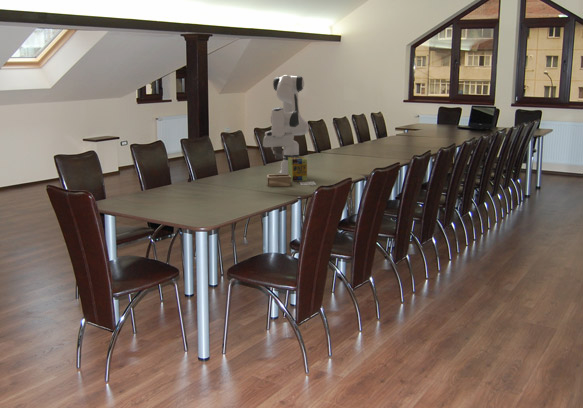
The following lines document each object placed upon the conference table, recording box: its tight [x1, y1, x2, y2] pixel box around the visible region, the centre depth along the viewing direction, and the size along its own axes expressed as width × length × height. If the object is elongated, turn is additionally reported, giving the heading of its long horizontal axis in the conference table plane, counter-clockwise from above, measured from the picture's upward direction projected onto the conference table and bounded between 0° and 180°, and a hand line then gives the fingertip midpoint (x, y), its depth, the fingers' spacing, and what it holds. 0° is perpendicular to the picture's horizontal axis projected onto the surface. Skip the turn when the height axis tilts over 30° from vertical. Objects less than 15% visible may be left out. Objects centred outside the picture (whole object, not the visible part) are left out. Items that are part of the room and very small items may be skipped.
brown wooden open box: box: [266, 173, 292, 187], centre depth 428 cm, size 12×15×6 cm
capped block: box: [274, 147, 283, 161], centre depth 424 cm, size 6×4×8 cm
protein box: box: [288, 156, 308, 182], centre depth 446 cm, size 10×15×16 cm
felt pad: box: [298, 181, 317, 187], centre depth 430 cm, size 12×10×1 cm
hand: (278, 153), depth 424 cm, fingers closed on capped block, 4 cm apart
